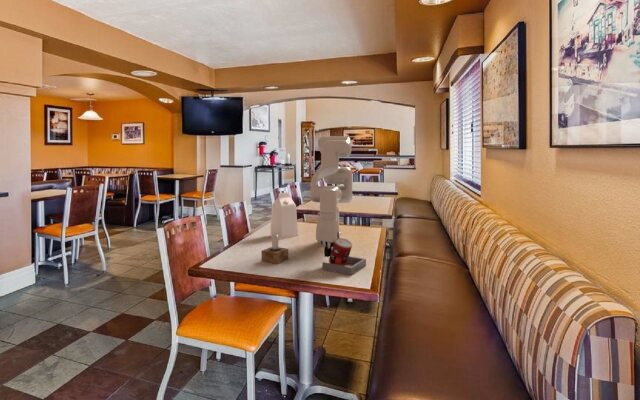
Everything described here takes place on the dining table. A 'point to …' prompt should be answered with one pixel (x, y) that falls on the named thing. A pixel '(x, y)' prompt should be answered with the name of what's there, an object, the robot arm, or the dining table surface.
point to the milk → (284, 217)
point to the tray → (345, 269)
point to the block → (275, 255)
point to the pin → (275, 242)
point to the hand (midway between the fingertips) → (327, 256)
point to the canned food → (340, 252)
